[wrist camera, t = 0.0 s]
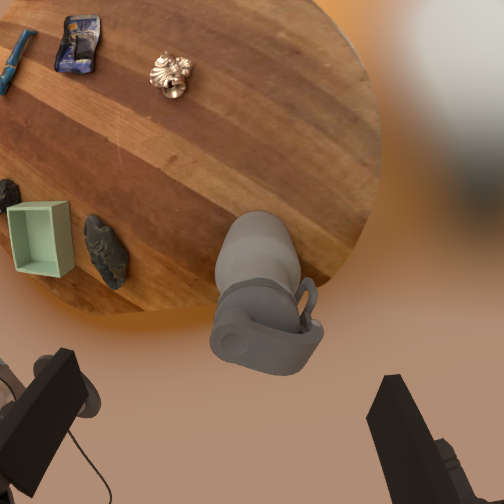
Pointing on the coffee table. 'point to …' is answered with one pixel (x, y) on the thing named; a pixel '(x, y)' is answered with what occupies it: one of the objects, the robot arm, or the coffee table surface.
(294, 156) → the coffee table surface
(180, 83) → the ornament
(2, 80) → the blue long piece
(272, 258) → the water bottle
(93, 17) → the snack package
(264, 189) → the coffee table surface
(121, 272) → the stone
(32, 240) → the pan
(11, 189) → the rock
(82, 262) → the coffee table surface
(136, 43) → the coffee table surface
